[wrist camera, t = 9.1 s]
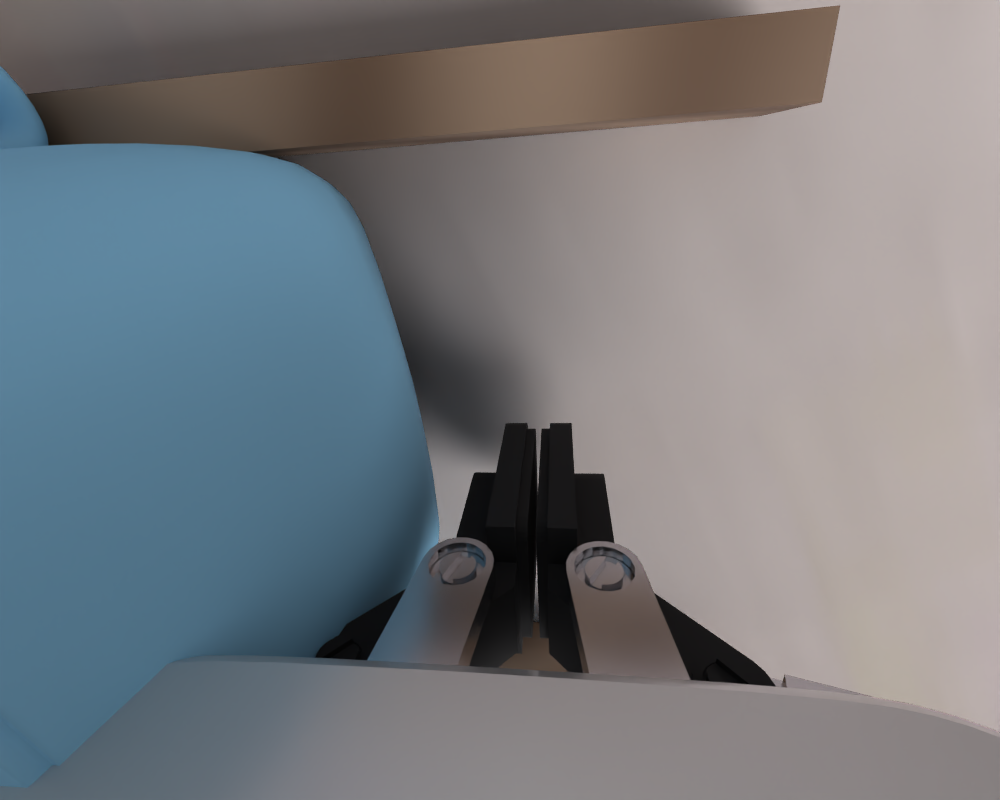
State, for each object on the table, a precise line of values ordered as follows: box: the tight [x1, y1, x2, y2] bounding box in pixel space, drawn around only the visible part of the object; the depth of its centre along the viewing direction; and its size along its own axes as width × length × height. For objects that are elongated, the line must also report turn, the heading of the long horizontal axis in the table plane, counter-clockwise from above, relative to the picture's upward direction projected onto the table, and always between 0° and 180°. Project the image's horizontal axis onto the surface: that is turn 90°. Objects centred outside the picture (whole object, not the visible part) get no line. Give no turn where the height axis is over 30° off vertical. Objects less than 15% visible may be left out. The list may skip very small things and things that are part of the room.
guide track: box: [25, 6, 840, 672], centre depth 12 cm, size 28×17×6 cm, turn 94°
